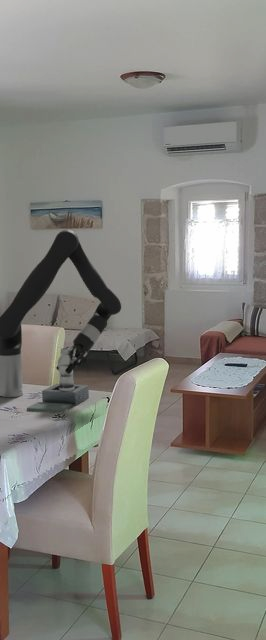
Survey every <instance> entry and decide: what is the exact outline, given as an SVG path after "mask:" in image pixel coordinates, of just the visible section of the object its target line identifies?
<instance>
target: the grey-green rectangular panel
mask: <svg viewBox="0 0 266 640" xmlns="http://www.w3.org/2000/svg"><path fill="white" fill-rule="evenodd" d="M71 407H72V405H71V404H60V403H45V402H43V401H41V402H40V401H37V402H36V403H33V404H32V405H31V404H30V406H28V407H26V411H29V412H42V413H44V412H45V413H59V414H62V413H63V412H65V411H67V410H68V409H69V408H71Z"/></svg>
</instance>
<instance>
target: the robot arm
mask: <svg viewBox="0 0 266 640" xmlns="http://www.w3.org/2000/svg"><path fill="white" fill-rule="evenodd" d="M68 259H69V260H70V261H71V262H72V263H73V266H74V267H75V269H76V271H77V272H78V274H79V277H80V278H81V280H82V282H83V284H84V285H85V287H86V288H87V289H88V291H89V293H90V294H91V296H92V297H94V298H95V299H98V300H99V304H98V305H97V306H96V309H95V311H94V313H93V315H92V316H91V317H90V319H89V320H88V322H86V324H85V325H84V326H83V327H82V329H81V330H80V331H79V332H78V334H77V335H76V336H75V338H74V339H73V341H72V343H73V345H72V346H71V347H69V346H66V347H65V348H70V356H71V357H72V362H71V363H72V364H71V363H70V364H69V366H68V367H67V368H66V370H65V372H66V373H68V374H70V373H71V371H72V370H73V371H74V369H75V368H77V366H78V367H80V366H82V364H83V363H84V362H85V360H86V359H87V358H88V356H89V354H88V353H89V352H90V351H91V349H92V348H93V347H94V345H95V344H96V342H97V341H98V339H99V337H100V336H101V334H102V333H104V330H105V329H106V327H107V326H108V321H109V319H110V318H111V317H112V316H114V315H117V314H119V313H120V312H121V310H122V303H121V301H120V299H119V298H118V297H117V295H116V294H115V293H114V292H113V290H111V288H109V287H108V286H107V284H106V283H105V281H104V279H103V278H102V276H101V275H100V274H99V273H98V270H97V269H96V268H95V267H94V265H93V264H92V263H91V261H90V259H89V258H88V256H87V254H86V253H85V251H84V249H83V246H82V244H81V242H80V240H79V236H78V235H77V233H76V232H75V231H73V230H71V229H63V230H62V231H60V232H59V233H57V234H56V236H55V238H54V240H53V242H52V244H51V246H50V248H49V250H48V251H47V253H46V254H45V256H44V257H43V258H42V260H41V261H39V263H37V264H36V266H35V268H33V270H32V271H31V272H30V273H29V275H28V276H27V278H26V279H25V281H24V282H23V284H22V285H21V287H20V289H19V290H18V291H17V293H16V294H15V296H14V299H13V300H12V302H11V303H10V304H9V306H8V307H7V308H6V310H4V312H3V313H2V314H1V315H0V397H1V396H2V397H1V398H15V397H17V398H18V397H21V396H23V394H24V391H23V388H24V387H23V371H22V368H23V367H22V350H21V349H22V344H23V339H22V338H23V337H22V335H23V334H22V321H23V320H24V318H25V316H26V315H27V314H28V312H29V311H31V310H32V309H33V308H34V307H35V306H36V304H37V303H38V302H39V301H40V300H41V299H42V298H43V296H44V295H45V294H46V293H47V291H48V289H49V288H50V287H51V285H52V283H53V281H54V280H55V278H56V276H57V274H58V272H59V270H60V269H61V267H62V266H63V264H64V263H65V262H66V261H67V260H68ZM55 369H56V370H57V371H58V372H59V368H58V365H57V366H56V367H55Z"/></svg>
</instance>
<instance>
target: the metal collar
mask: <svg viewBox="0 0 266 640" xmlns="http://www.w3.org/2000/svg"><path fill="white" fill-rule="evenodd" d="M59 387H60V383H55V384H53V385H51V386H49V387H47V388H45V389H44V390H41V399H42V401H41V402H45V403H60V404H71V406H78V405H80V404H81V403H82V402H84V401H86V400H87V399H89V397H90V396H89V395H90V394H89V385H88V384H87V385H85V384H74V388H75V390H73V391H63V390H59Z"/></svg>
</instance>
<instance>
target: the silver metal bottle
mask: <svg viewBox="0 0 266 640" xmlns="http://www.w3.org/2000/svg"><path fill="white" fill-rule="evenodd" d="M70 348H71V347H69V348H66V347H63V348H60V356H59V357H58V359H57V366H58V368H59V371H58V373H59V384H60V387H59V390H63V391H73V390H75V388H74V385H75V384H74V369H73V370H72V371H71V373H70V374H68V373H66V372H65V370H66V368H67V367H68V366H69V364H70V363H71V362H72V357H71V356H70ZM71 364H72V363H71Z"/></svg>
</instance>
